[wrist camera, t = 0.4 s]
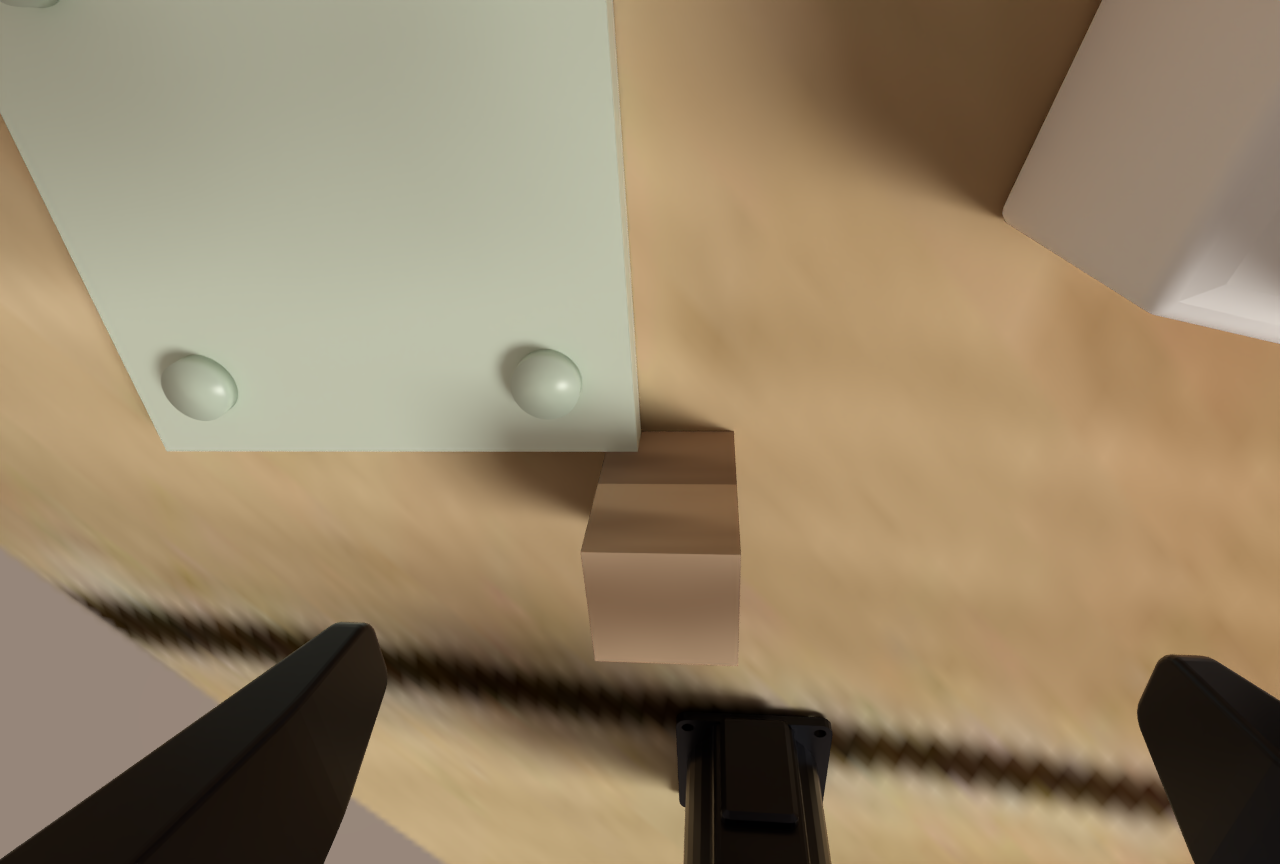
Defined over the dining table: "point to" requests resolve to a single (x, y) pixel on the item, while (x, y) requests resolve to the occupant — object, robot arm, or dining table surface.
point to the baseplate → (342, 215)
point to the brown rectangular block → (666, 552)
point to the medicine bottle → (1167, 161)
